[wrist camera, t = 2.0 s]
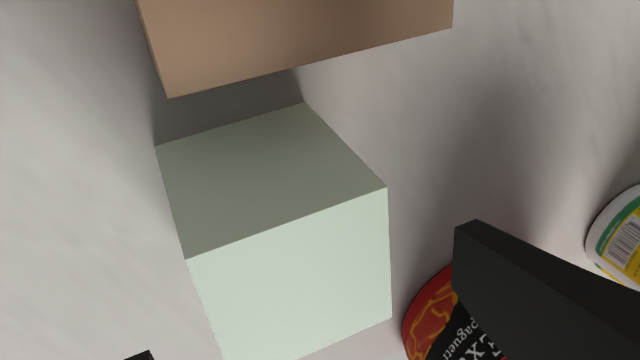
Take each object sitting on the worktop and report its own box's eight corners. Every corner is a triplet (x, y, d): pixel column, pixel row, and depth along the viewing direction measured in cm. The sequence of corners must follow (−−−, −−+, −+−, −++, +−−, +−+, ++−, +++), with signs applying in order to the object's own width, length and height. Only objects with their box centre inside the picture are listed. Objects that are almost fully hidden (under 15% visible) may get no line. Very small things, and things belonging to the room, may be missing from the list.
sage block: (196, 260, 16) (234, 387, 12) (153, 145, 13) (185, 259, 9) (320, 215, 17) (392, 316, 13) (304, 101, 14) (387, 186, 10)
